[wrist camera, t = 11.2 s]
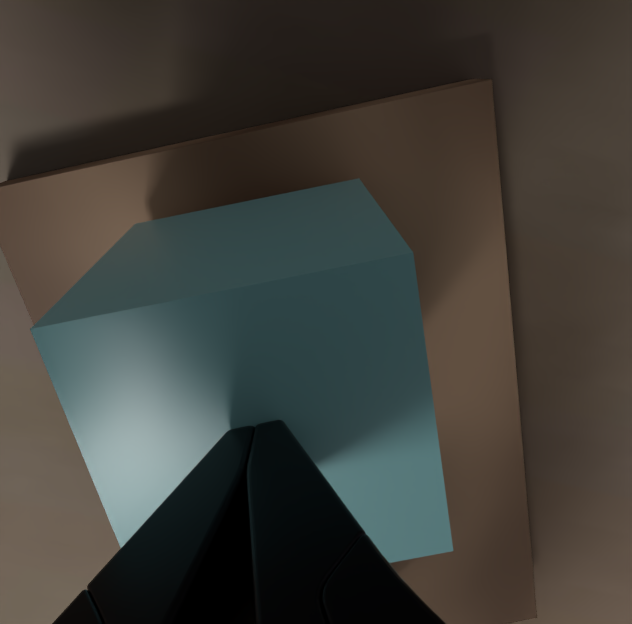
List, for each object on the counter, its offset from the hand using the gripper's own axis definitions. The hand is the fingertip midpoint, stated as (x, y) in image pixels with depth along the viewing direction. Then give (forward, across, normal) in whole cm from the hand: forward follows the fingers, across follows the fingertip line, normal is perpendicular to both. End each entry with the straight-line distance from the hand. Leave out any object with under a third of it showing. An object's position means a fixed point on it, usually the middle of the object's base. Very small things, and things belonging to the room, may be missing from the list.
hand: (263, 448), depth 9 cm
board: (+8, 0, +4) cm, 9 cm away
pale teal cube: (+6, 0, 0) cm, 6 cm away
